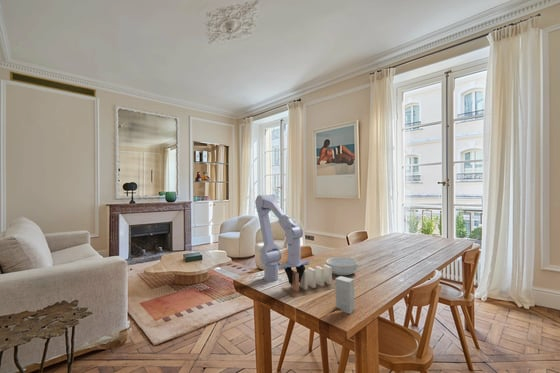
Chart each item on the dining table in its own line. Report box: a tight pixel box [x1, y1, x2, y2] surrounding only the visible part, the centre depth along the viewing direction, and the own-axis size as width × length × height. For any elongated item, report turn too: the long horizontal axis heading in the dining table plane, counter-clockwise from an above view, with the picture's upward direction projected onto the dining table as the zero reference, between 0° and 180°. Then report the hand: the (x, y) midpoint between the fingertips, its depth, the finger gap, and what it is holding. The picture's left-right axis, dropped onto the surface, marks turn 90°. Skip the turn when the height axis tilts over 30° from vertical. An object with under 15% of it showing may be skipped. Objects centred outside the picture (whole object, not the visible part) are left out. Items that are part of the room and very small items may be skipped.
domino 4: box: [322, 264, 333, 285], centre depth 123 cm, size 2×5×8 cm, turn 24°
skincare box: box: [334, 275, 356, 315], centre depth 98 cm, size 6×4×12 cm
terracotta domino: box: [290, 269, 299, 292], centre depth 116 cm, size 2×5×8 cm, turn 25°
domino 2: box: [306, 266, 316, 288], centre depth 119 cm, size 2×5×8 cm, turn 24°
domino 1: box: [299, 269, 308, 290], centre depth 117 cm, size 2×5×8 cm, turn 24°
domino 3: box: [314, 265, 324, 286], centre depth 121 cm, size 2×5×8 cm, turn 24°
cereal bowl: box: [325, 256, 359, 276], centre depth 138 cm, size 17×17×7 cm
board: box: [282, 281, 336, 299], centre depth 117 cm, size 26×11×1 cm, turn 114°
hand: (294, 282), depth 116 cm, fingers open, 4 cm apart
